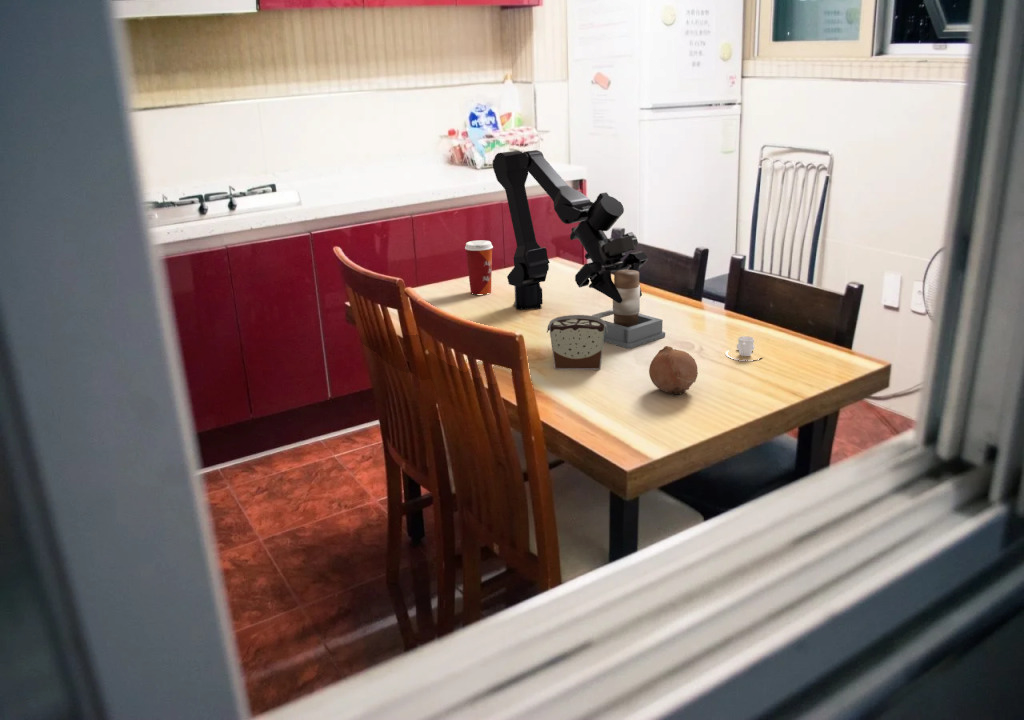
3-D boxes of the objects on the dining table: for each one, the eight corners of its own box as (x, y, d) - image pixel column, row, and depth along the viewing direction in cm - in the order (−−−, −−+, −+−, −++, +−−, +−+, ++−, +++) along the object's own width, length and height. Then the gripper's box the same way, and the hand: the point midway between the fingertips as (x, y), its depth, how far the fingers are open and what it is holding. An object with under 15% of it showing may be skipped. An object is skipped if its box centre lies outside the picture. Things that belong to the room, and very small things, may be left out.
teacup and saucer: (740, 347, 181) (741, 329, 180) (773, 355, 176) (774, 336, 175) (717, 357, 176) (718, 339, 174) (751, 366, 170) (752, 347, 169)
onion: (657, 400, 162) (644, 352, 162) (702, 388, 160) (690, 340, 160) (655, 401, 153) (642, 351, 153) (703, 389, 151) (690, 338, 152)
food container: (607, 359, 176) (607, 313, 172) (607, 369, 170) (607, 322, 167) (549, 359, 177) (548, 314, 174) (547, 369, 171) (546, 323, 168)
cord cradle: (589, 336, 190) (589, 314, 188) (626, 325, 197) (627, 304, 196) (628, 349, 181) (628, 326, 180) (665, 336, 188) (666, 314, 187)
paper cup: (494, 296, 225) (492, 245, 221) (466, 297, 226) (463, 246, 221) (495, 288, 233) (493, 239, 228) (468, 289, 233) (465, 240, 228)
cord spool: (610, 329, 187) (611, 275, 183) (614, 321, 192) (615, 268, 188) (637, 330, 186) (638, 276, 181) (640, 322, 191) (641, 269, 187)
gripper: (583, 228, 178) (620, 287, 174) (643, 216, 189) (679, 271, 185) (559, 258, 187) (593, 315, 183) (617, 244, 198) (651, 298, 193)
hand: (630, 299), depth 186 cm, fingers closed on cord spool, 6 cm apart
